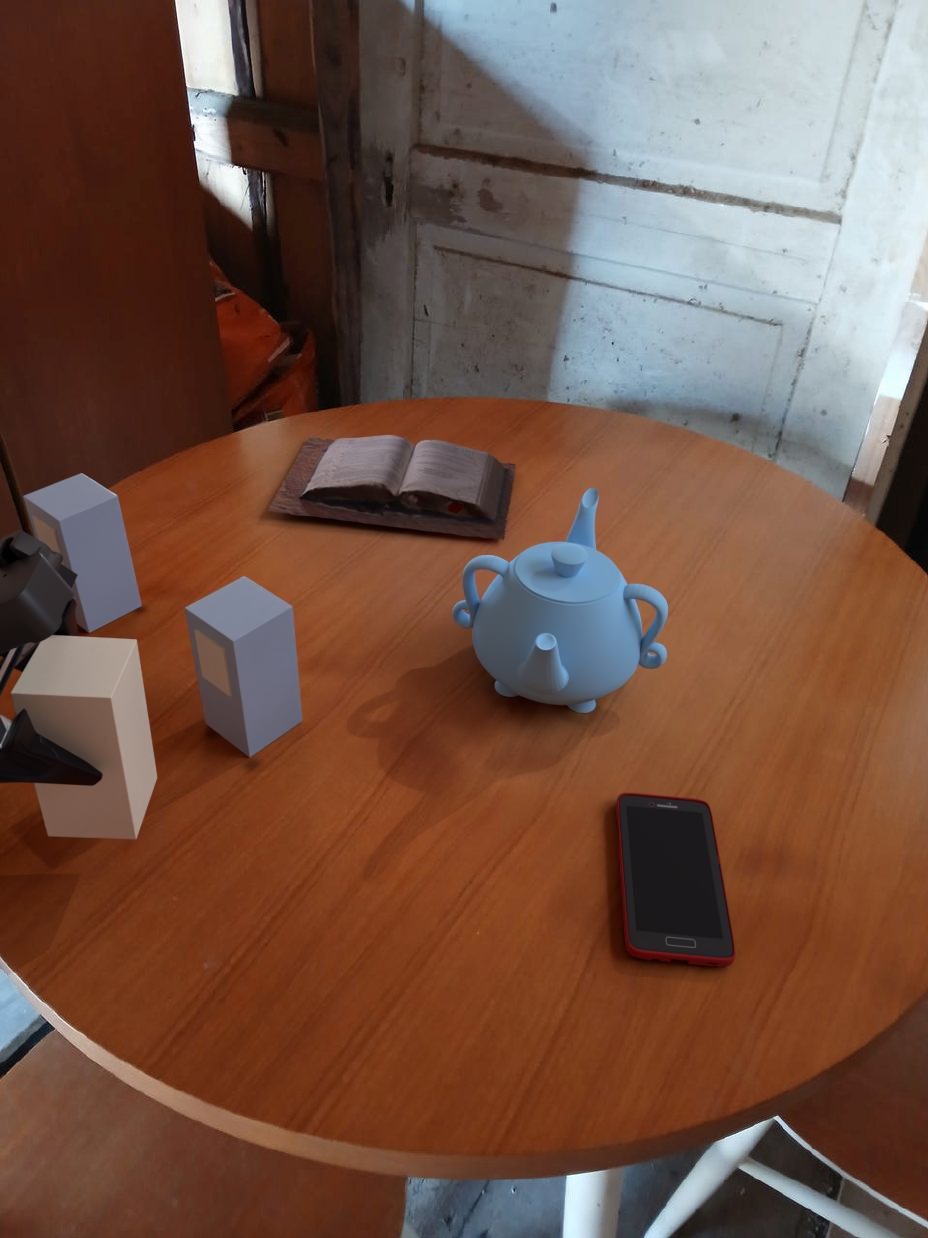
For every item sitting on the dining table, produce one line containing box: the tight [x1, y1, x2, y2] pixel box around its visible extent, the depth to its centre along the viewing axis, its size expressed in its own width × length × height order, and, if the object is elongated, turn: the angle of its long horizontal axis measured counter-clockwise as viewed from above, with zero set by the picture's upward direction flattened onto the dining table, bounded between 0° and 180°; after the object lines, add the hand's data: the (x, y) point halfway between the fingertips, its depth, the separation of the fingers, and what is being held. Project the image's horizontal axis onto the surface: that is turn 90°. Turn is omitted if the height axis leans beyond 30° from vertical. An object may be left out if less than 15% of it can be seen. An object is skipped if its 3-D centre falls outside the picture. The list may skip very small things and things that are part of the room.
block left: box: [22, 472, 143, 634], centre depth 87 cm, size 6×6×13 cm
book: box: [267, 434, 517, 541], centre depth 111 cm, size 20×28×4 cm
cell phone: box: [615, 792, 737, 968], centre depth 69 cm, size 8×15×1 cm, turn 176°
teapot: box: [451, 487, 669, 714], centre depth 83 cm, size 16×20×14 cm
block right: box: [184, 575, 303, 758], centre depth 76 cm, size 6×6×13 cm
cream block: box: [10, 635, 158, 840], centre depth 61 cm, size 6×6×13 cm
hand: (112, 740), depth 61 cm, fingers closed on cream block, 7 cm apart
